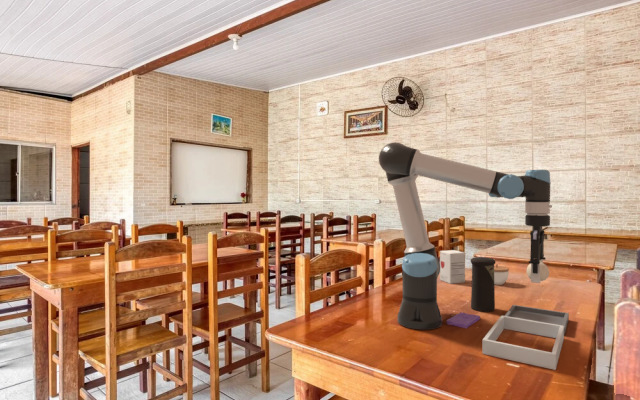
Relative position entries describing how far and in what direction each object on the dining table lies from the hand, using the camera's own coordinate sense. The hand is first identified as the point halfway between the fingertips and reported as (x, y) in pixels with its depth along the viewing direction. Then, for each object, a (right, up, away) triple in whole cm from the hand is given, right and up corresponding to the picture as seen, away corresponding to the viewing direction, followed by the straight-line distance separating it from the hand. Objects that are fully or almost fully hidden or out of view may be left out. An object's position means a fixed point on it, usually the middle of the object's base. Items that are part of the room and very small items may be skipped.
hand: (537, 280), depth 139 cm
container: (-12, -15, +16) cm, 25 cm away
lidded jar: (+11, -13, +57) cm, 59 cm away
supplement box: (-9, -13, +62) cm, 64 cm away
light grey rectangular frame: (-14, -16, -20) cm, 29 cm away
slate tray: (0, -15, +1) cm, 15 cm away
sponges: (-25, -16, +2) cm, 29 cm away
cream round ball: (0, 0, 0) cm, 0 cm away
